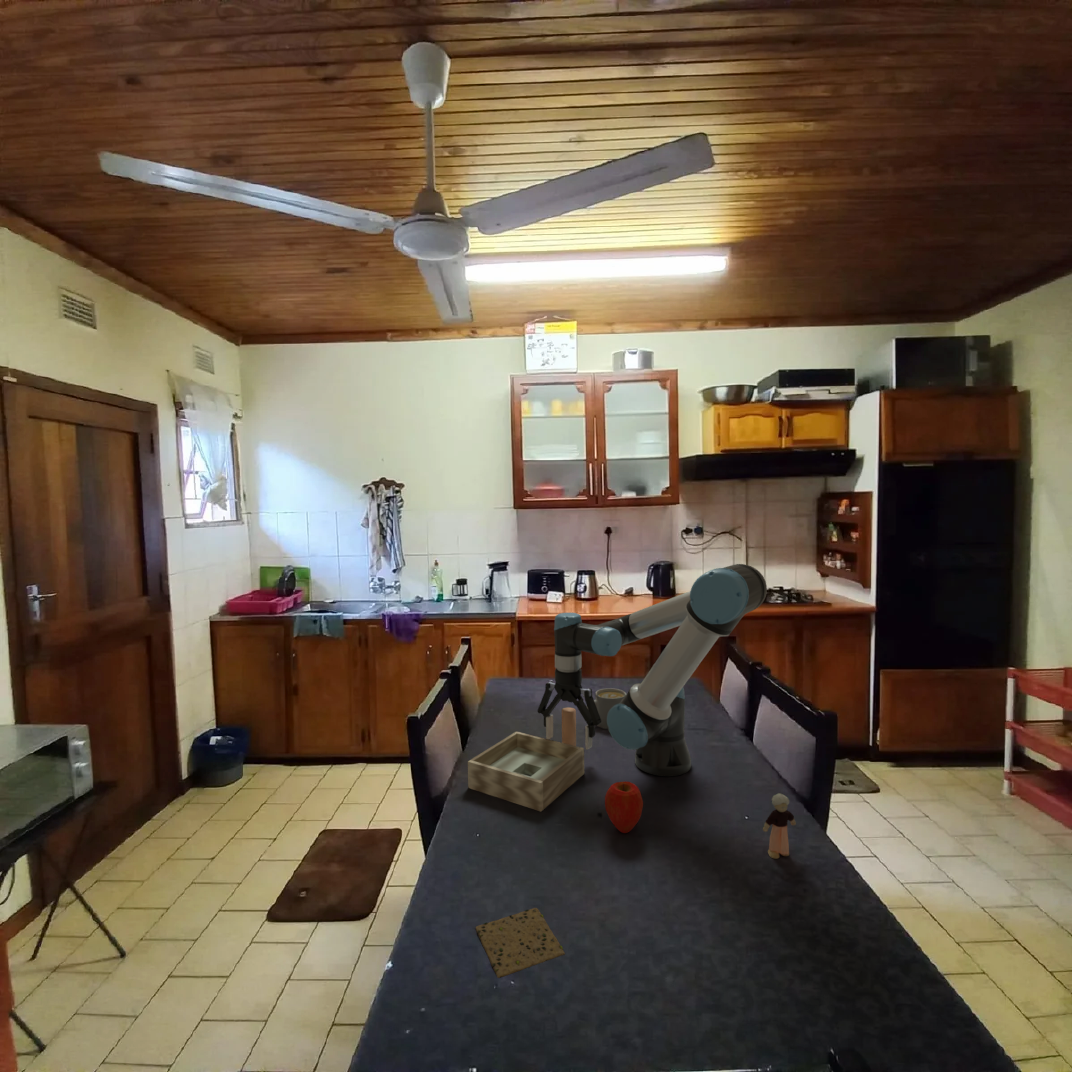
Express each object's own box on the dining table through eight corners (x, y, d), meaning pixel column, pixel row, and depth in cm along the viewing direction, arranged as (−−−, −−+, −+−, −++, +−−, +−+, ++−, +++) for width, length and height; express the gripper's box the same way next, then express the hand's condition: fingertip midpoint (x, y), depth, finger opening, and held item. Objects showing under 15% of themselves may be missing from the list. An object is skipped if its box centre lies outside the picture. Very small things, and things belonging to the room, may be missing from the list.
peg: (578, 757, 167) (578, 709, 166) (571, 762, 164) (571, 713, 163) (566, 753, 169) (565, 706, 168) (559, 759, 166) (559, 711, 165)
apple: (620, 815, 137) (620, 770, 136) (651, 830, 131) (651, 783, 130) (597, 830, 131) (596, 783, 130) (628, 846, 125) (628, 797, 124)
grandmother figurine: (774, 863, 118) (775, 803, 117) (759, 853, 122) (760, 794, 121) (800, 852, 122) (801, 793, 121) (785, 843, 125) (786, 785, 124)
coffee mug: (622, 716, 197) (622, 687, 196) (629, 728, 187) (629, 697, 186) (582, 718, 196) (582, 689, 195) (588, 730, 186) (587, 699, 185)
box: (584, 773, 157) (584, 748, 157) (541, 811, 139) (540, 783, 138) (516, 755, 169) (516, 731, 169) (468, 787, 151) (467, 761, 150)
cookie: (497, 982, 91) (497, 976, 91) (474, 929, 102) (474, 924, 102) (566, 957, 96) (566, 951, 96) (537, 909, 107) (537, 904, 107)
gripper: (613, 671, 161) (613, 747, 163) (538, 658, 174) (539, 729, 176) (601, 678, 155) (601, 757, 157) (524, 665, 168) (526, 738, 170)
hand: (568, 742), depth 166 cm, fingers open, 12 cm apart
